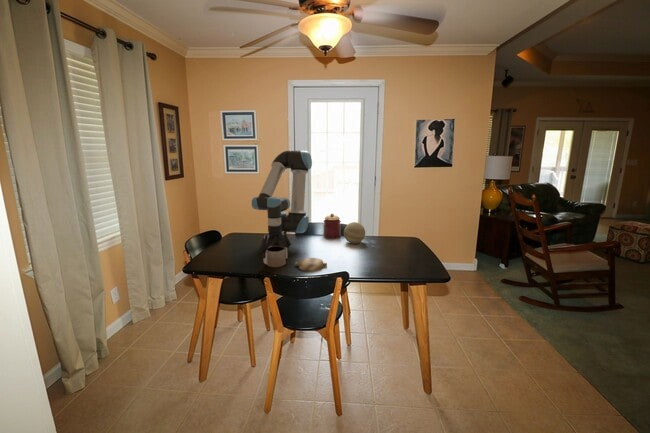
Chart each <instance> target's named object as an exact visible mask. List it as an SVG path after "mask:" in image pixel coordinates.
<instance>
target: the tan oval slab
mask: <svg viewBox="0 0 650 433" xmlns="http://www.w3.org/2000/svg"><path fill="white" fill-rule="evenodd" d="M294 266H295V267H298V269H299V270H301V271H304V272H316V271H320V270H322V269H323V268H324V267H325V268H326V267H328V263H327V262H324V260H323V259H320V258H317V257H306V258H303V259H300V260H299V261H295V263H294Z"/></svg>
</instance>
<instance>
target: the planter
mask: <svg viewBox="0 0 650 433" xmlns="http://www.w3.org/2000/svg"><path fill="white" fill-rule="evenodd" d="M266 253H267V264H266V265H267V267H269V268H280V267H283V266H284V265H286V258H285V248H284V247H282V246H271V247H269V248H268V249H267V251H266Z"/></svg>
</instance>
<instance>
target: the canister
mask: <svg viewBox="0 0 650 433" xmlns="http://www.w3.org/2000/svg"><path fill="white" fill-rule="evenodd" d="M340 219H341V218H340V217H339V216H337V215H334V213H330V214H329V215H327V216H325V217H324V220H323V237H324V238H326V239H339V238H340V237H341V235H342V234H341V222H342V221H341V220H340Z"/></svg>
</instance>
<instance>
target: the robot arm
mask: <svg viewBox="0 0 650 433" xmlns="http://www.w3.org/2000/svg"><path fill="white" fill-rule="evenodd" d="M312 161H313V160H312V155H311V154H310V152H309V151H307V150H285V151H282V152H280V153H279V154H278V155H277V156H276V157H274V159H273V161H272V162H271V165H270V166H271V168H270V171H269V173H268V174H267V177H266V180H265V182H264V184H263V186H262V188H261V190H260V193H259V194H258V196H255V197H253V198H252V199H251V207H252V209H253V210H257V211H258V210H259V211H266V212H267V232H268V234H263V238H262V240H261V243H260V246H259V249H258V252H260V253H261V257H262V259H263V264H265V265H267V253H266V251H267V249H268V248H269V247H271V246H282V247H284V248H285V260H286V259H288V253H289V248H290V246H291V245H292V244H291V241H290V239H289V237H288V235H287V233H296V234H303V233H305V232H306V231H307V229H308V226H309V223H310V219H309V216H308V215H307V212H306V211H305V196H306V195H305V193H306V178H307V177H306V176H307V174H308V173H309V170H310V169H312V166H313V162H312ZM287 169H290V172H291V173H292V186H291V200H290V199H288V197H279V196H274V193H275V191H276V189H277V186H278V184H279V182H280V180H281V177H282V175H283V174H284V173H285V171H286V170H287ZM289 208H290V210H289V211H288V214H287V212H286V211H287V210H288V209H289Z"/></svg>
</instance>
